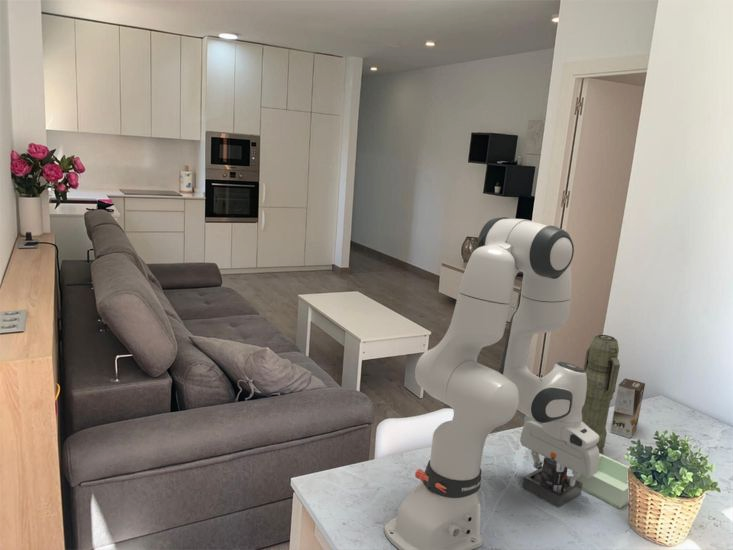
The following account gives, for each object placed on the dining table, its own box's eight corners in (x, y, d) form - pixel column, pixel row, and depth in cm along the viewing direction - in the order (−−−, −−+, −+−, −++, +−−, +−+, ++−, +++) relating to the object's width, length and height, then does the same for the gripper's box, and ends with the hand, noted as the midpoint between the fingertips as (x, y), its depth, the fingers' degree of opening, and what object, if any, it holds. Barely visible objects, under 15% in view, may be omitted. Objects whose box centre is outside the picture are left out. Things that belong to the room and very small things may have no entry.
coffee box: (631, 439, 180) (639, 391, 176) (609, 432, 183) (618, 385, 180) (637, 429, 187) (645, 383, 184) (616, 423, 191) (624, 377, 187)
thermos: (591, 462, 163) (611, 345, 156) (561, 442, 174) (579, 331, 166) (613, 457, 167) (634, 342, 160) (583, 438, 177) (601, 330, 170)
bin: (620, 509, 141) (623, 490, 140) (572, 484, 151) (574, 467, 150) (643, 492, 150) (647, 475, 149) (596, 469, 159) (599, 453, 158)
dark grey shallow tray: (558, 507, 140) (560, 496, 139) (522, 487, 147) (523, 476, 147) (580, 493, 147) (582, 483, 146) (544, 475, 154) (546, 464, 154)
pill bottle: (564, 499, 144) (571, 458, 141) (540, 494, 145) (546, 453, 142) (561, 486, 149) (568, 446, 147) (538, 482, 150) (544, 442, 148)
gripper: (519, 412, 149) (512, 461, 152) (592, 446, 134) (583, 499, 137) (532, 407, 153) (525, 454, 156) (606, 439, 138) (596, 491, 141)
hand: (553, 476), depth 146 cm, fingers open, 8 cm apart
